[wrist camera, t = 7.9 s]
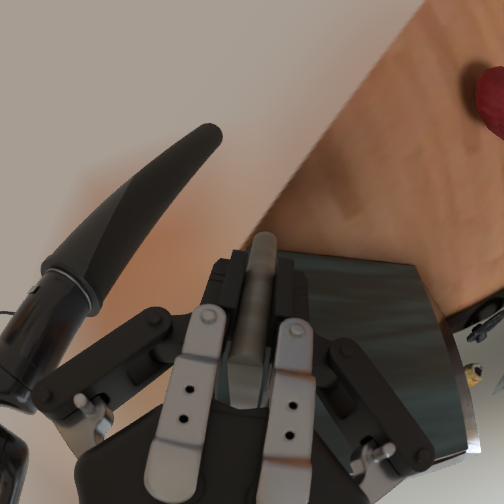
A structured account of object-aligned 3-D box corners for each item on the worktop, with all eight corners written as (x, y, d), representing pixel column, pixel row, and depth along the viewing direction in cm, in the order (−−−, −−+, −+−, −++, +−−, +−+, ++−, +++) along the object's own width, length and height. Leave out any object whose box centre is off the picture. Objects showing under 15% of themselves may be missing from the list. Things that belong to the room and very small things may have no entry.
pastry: (451, 387, 41) (454, 402, 38) (434, 384, 40) (437, 401, 37) (484, 363, 35) (488, 379, 32) (469, 359, 34) (474, 376, 31)
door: (248, 179, 22) (165, 433, 7) (439, 207, 20) (541, 401, 5) (246, 255, 26) (198, 464, 11) (411, 273, 25) (460, 453, 10)
